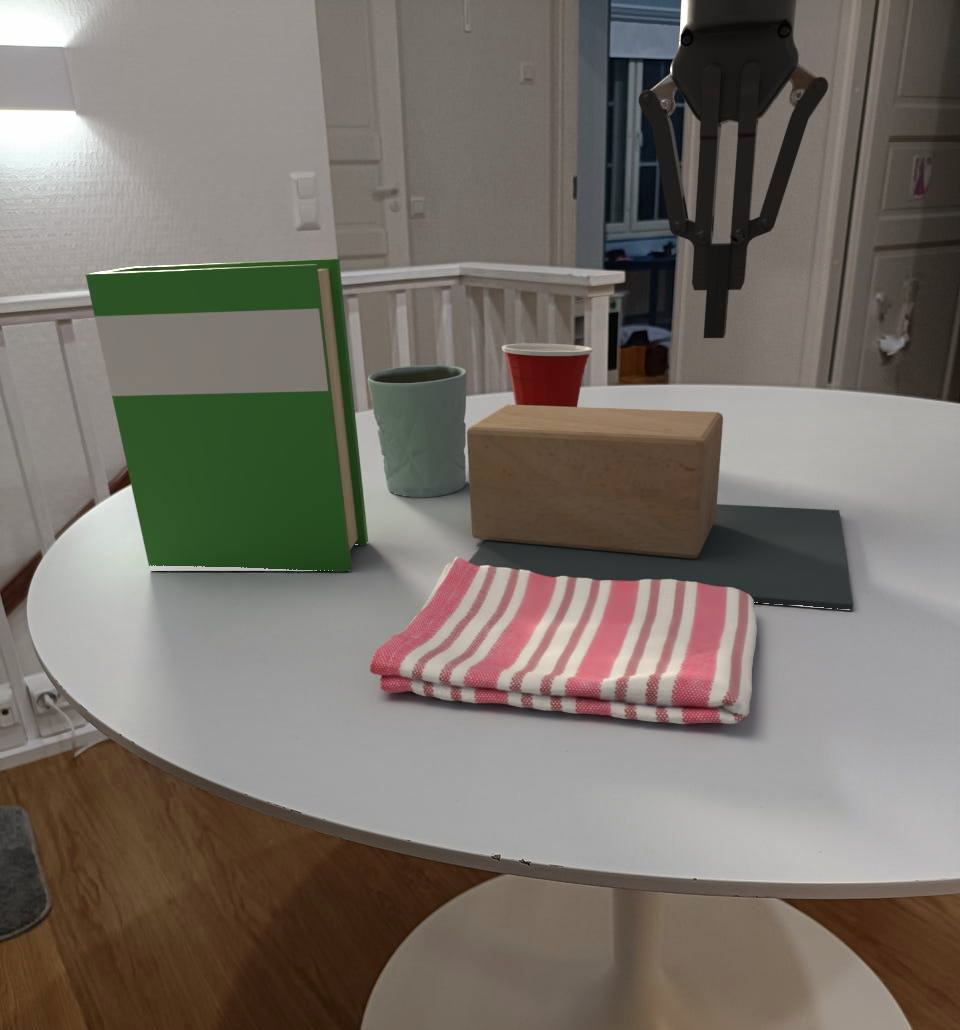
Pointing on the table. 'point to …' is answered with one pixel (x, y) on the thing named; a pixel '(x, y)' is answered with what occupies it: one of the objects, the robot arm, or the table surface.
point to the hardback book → (235, 411)
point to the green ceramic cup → (421, 428)
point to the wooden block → (596, 478)
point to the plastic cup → (546, 373)
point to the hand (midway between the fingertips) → (714, 335)
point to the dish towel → (578, 645)
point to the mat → (717, 557)
